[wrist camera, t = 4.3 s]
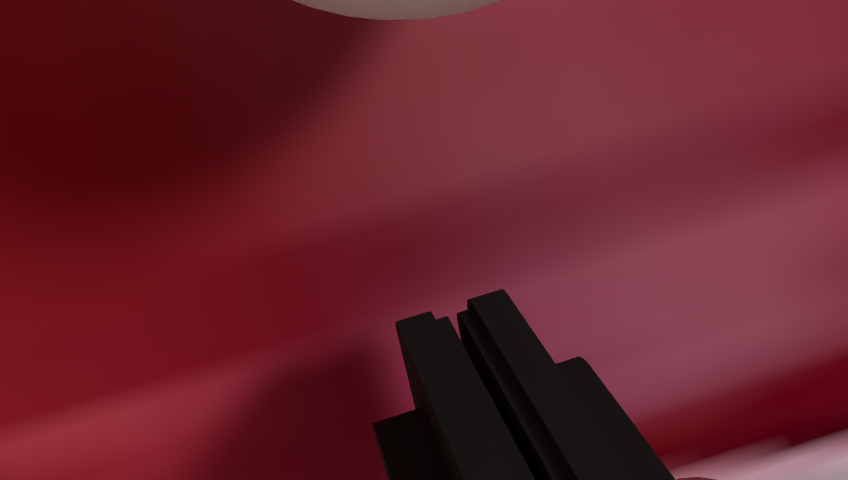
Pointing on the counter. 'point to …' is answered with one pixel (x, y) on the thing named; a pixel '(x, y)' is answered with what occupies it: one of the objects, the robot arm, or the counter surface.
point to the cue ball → (396, 8)
